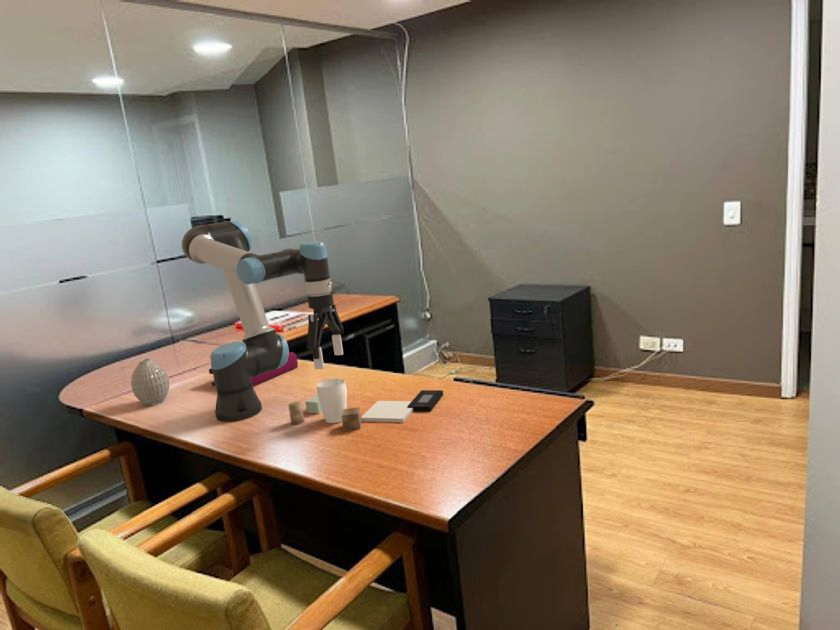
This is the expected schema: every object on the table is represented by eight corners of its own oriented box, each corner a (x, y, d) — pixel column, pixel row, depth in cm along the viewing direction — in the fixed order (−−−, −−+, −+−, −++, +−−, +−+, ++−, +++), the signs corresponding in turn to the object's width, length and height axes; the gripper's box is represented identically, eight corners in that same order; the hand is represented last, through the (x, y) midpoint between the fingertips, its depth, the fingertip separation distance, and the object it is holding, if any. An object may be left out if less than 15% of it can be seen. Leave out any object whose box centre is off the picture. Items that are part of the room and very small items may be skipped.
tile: (361, 421, 190) (360, 417, 190) (378, 404, 203) (378, 400, 202) (403, 422, 185) (403, 418, 185) (418, 404, 198) (418, 401, 198)
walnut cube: (343, 431, 184) (341, 415, 183) (345, 424, 189) (343, 409, 188) (360, 429, 184) (358, 413, 183) (361, 422, 189) (359, 407, 188)
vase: (130, 405, 231) (120, 362, 228) (163, 394, 240) (154, 352, 236) (144, 411, 222) (135, 367, 219) (178, 399, 231) (169, 356, 228)
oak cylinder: (289, 424, 194) (286, 406, 193) (295, 419, 198) (292, 401, 196) (300, 425, 193) (297, 406, 191) (306, 419, 196) (303, 402, 195)
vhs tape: (407, 412, 194) (407, 406, 193) (422, 395, 207) (421, 390, 206) (430, 412, 191) (430, 406, 191) (443, 396, 204) (443, 390, 204)
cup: (345, 424, 189) (339, 387, 186) (317, 425, 191) (311, 388, 188) (354, 413, 197) (349, 377, 195) (327, 414, 199) (322, 378, 197)
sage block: (307, 412, 203) (305, 401, 202) (320, 405, 209) (319, 393, 208) (319, 414, 200) (317, 402, 200) (332, 406, 206) (330, 395, 205)
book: (298, 368, 255) (296, 351, 253) (246, 392, 232) (242, 372, 231) (263, 364, 267) (260, 347, 265) (210, 386, 244) (206, 368, 243)
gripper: (311, 302, 173) (322, 374, 178) (348, 284, 196) (356, 349, 201) (287, 303, 175) (299, 374, 180) (326, 286, 198) (335, 349, 203)
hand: (329, 361), depth 190 cm, fingers open, 13 cm apart
